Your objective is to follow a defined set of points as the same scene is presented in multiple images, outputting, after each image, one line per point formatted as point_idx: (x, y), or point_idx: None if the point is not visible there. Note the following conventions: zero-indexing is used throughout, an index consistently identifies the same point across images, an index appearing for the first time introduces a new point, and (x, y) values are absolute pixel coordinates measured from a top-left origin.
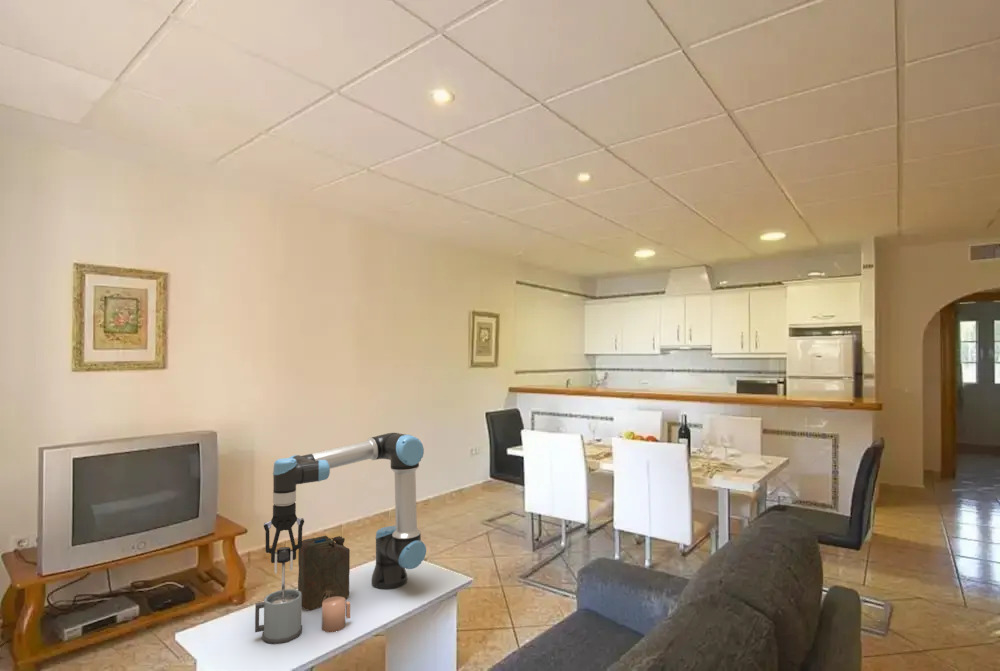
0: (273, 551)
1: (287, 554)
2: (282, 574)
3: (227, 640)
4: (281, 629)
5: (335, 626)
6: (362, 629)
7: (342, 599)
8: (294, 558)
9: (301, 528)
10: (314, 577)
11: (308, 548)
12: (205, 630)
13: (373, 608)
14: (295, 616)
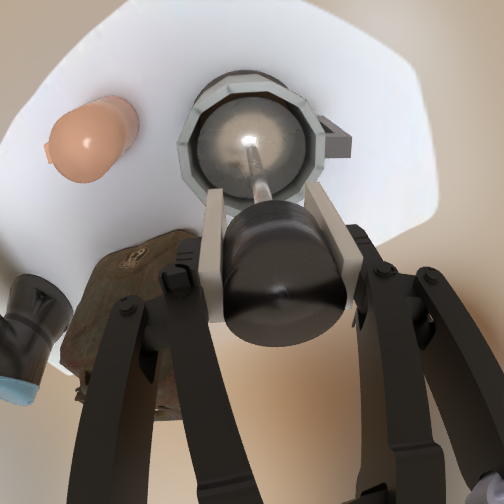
0: (384, 275)
1: (247, 246)
2: (267, 191)
3: (375, 146)
4: (250, 75)
5: (98, 99)
6: (45, 99)
7: (57, 155)
8: (190, 244)
9: (77, 495)
10: (154, 290)
11: (160, 377)
12: (406, 212)
13: (36, 199)
14: (204, 94)
